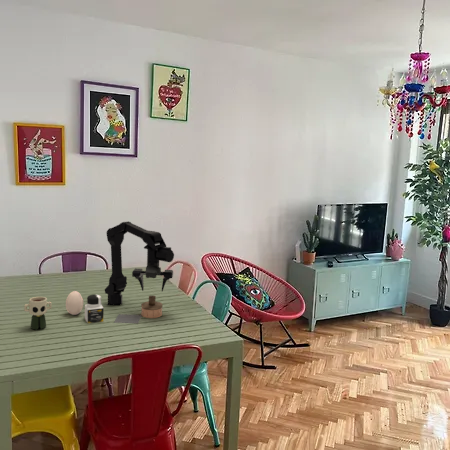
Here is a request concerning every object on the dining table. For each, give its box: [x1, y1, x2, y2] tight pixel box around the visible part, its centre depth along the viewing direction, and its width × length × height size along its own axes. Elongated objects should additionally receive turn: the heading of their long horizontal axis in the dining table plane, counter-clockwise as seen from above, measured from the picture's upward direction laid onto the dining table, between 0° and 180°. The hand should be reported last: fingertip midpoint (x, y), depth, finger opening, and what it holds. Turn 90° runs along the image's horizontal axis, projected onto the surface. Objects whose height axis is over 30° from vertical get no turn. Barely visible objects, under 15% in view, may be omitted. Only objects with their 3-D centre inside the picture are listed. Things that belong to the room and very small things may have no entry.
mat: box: [113, 313, 143, 325], centre depth 212 cm, size 11×11×1 cm
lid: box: [141, 295, 164, 310], centre depth 218 cm, size 10×10×5 cm
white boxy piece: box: [84, 294, 105, 324], centre depth 208 cm, size 7×7×12 cm
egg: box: [65, 290, 84, 316], centre depth 215 cm, size 8×8×11 cm
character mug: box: [23, 296, 53, 330], centre depth 197 cm, size 11×7×13 cm, turn 119°
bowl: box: [140, 307, 163, 319], centre depth 219 cm, size 10×10×4 cm
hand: (152, 290), depth 218 cm, fingers open, 9 cm apart
